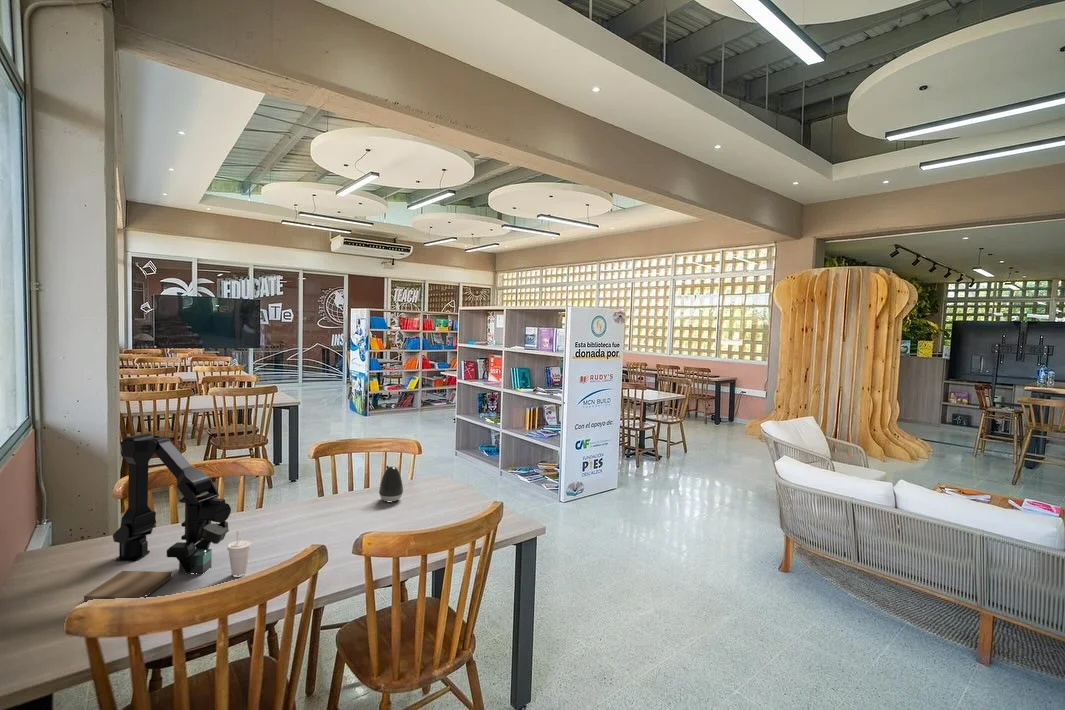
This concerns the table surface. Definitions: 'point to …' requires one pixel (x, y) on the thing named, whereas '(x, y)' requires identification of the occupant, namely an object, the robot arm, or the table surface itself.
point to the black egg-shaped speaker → (391, 485)
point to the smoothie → (239, 555)
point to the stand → (129, 585)
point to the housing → (199, 562)
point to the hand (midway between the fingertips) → (195, 566)
